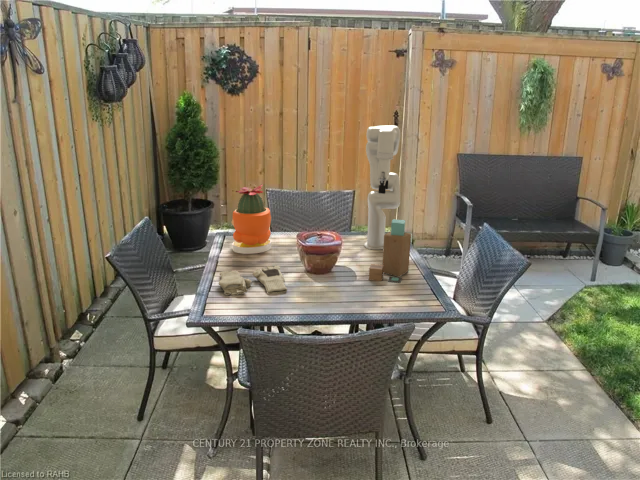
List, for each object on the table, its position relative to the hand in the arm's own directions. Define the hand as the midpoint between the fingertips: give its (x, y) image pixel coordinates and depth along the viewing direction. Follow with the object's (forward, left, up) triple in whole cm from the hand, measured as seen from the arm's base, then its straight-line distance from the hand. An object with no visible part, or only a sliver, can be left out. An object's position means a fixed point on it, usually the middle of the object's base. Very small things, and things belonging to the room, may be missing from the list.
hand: (383, 191), depth 261 cm
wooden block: (+8, +9, -38) cm, 40 cm away
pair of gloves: (+41, -53, -39) cm, 77 cm away
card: (+18, +10, -38) cm, 43 cm away
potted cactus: (-4, -69, -38) cm, 79 cm away
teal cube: (+8, +9, -18) cm, 22 cm away
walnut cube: (+18, +1, -38) cm, 42 cm away
